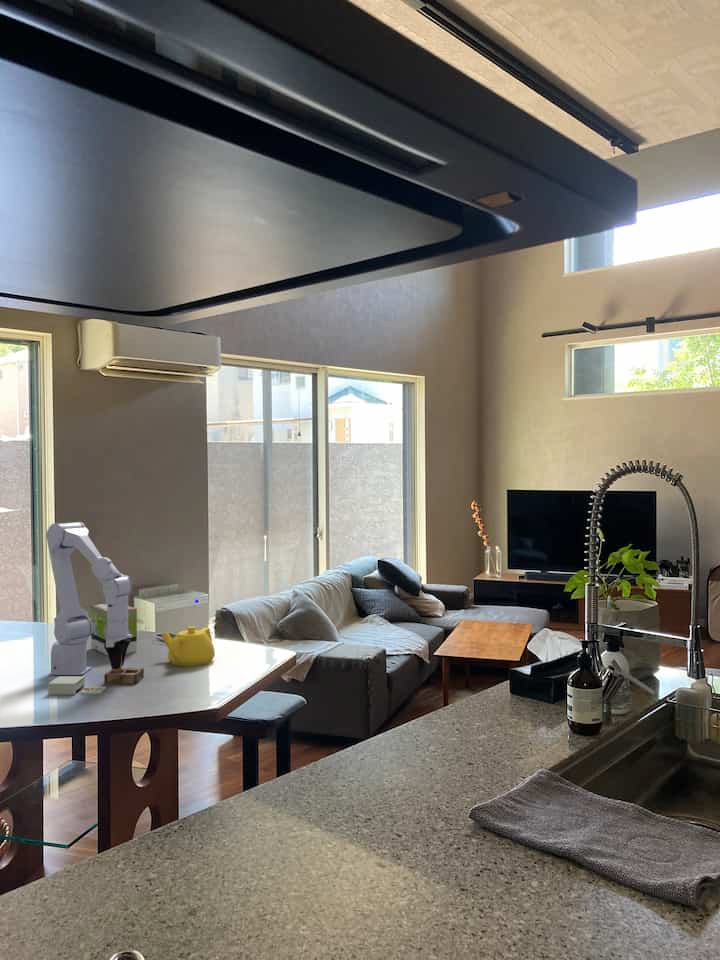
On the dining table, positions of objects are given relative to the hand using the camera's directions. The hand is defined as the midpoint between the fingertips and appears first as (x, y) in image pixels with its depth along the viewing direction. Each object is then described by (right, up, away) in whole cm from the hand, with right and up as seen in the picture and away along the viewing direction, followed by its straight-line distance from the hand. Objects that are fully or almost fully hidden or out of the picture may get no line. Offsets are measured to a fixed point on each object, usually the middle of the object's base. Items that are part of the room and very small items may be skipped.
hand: (117, 667), depth 214 cm
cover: (-10, -4, -11) cm, 15 cm away
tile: (-3, -4, -11) cm, 12 cm away
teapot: (+14, -4, +23) cm, 27 cm away
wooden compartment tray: (+2, -4, 0) cm, 4 cm away
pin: (0, -2, 0) cm, 2 cm away
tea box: (-13, -4, +36) cm, 39 cm away
